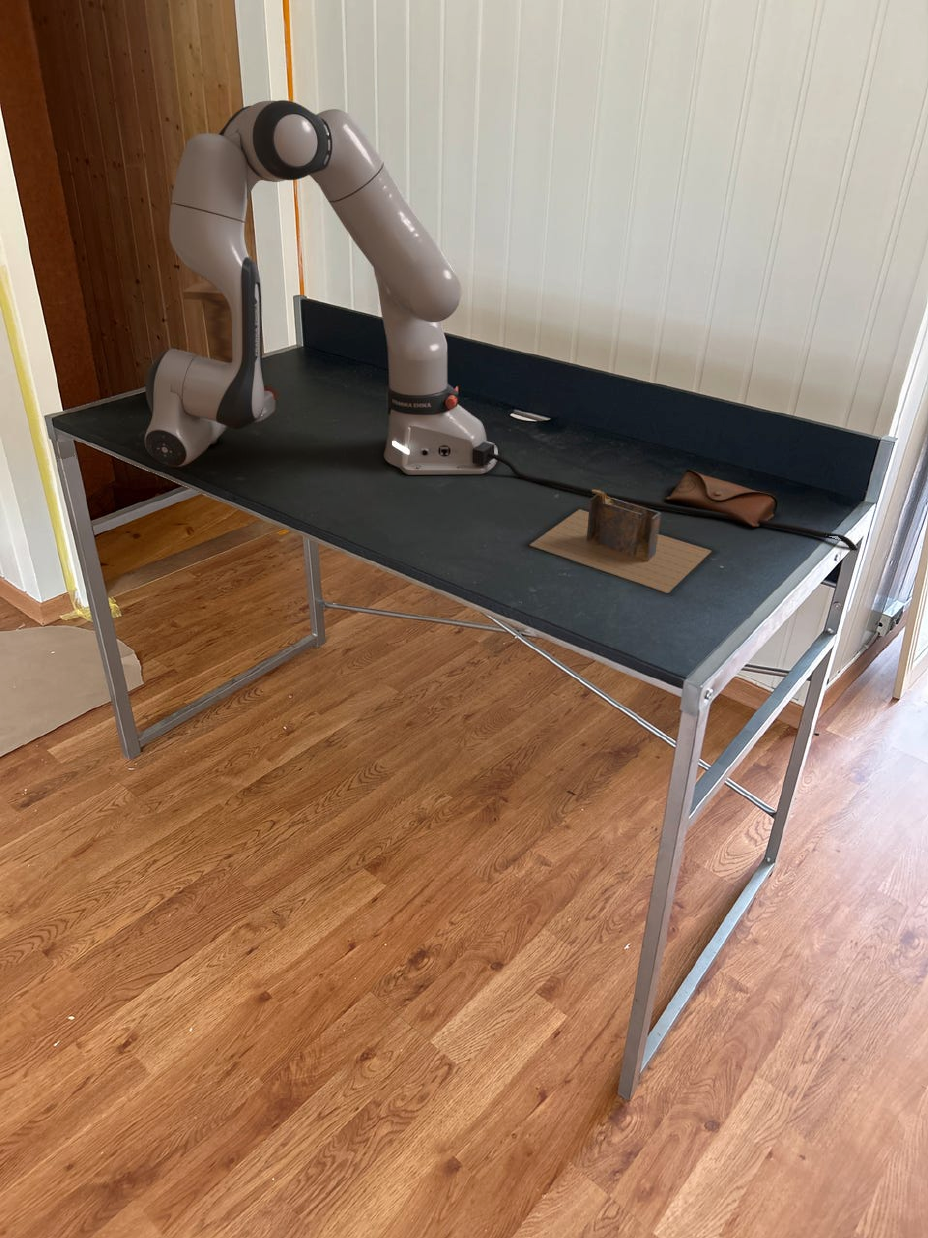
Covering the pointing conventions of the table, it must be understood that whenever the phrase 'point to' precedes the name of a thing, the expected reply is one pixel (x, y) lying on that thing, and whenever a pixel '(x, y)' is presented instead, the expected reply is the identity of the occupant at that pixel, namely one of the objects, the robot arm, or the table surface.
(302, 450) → the table surface
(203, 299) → the stand
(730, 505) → the sunglasses case
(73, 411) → the table surface
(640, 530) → the ruin model on sheet
